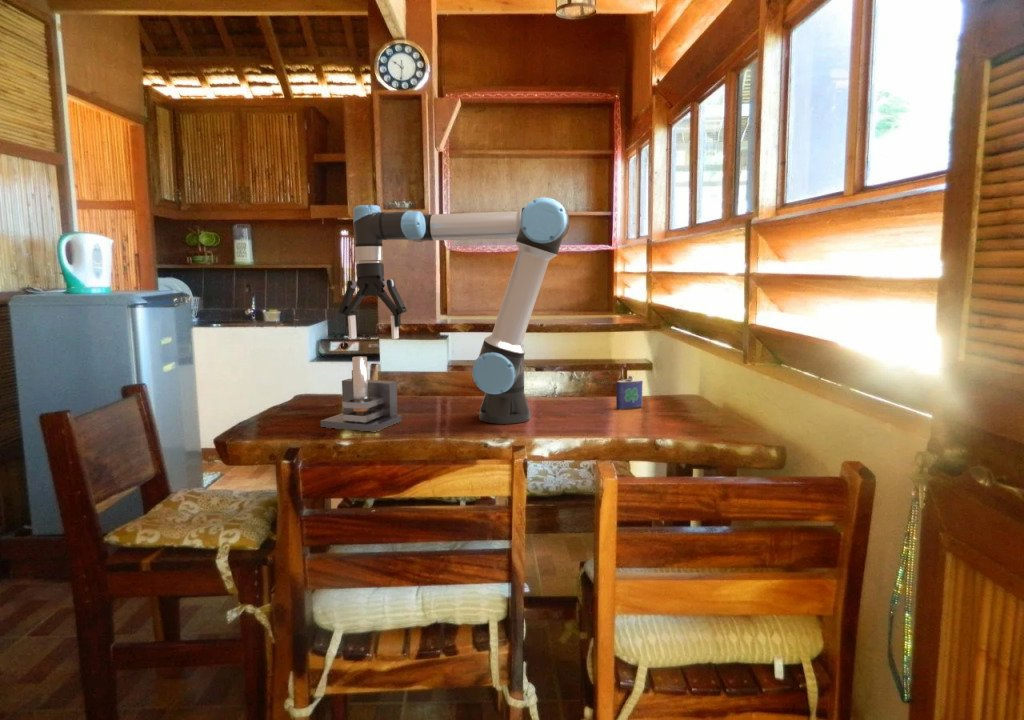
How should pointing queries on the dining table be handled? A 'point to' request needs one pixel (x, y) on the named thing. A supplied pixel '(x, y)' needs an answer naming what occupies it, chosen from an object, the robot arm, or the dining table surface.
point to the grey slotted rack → (379, 405)
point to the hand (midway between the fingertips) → (374, 338)
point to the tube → (360, 383)
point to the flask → (629, 394)
